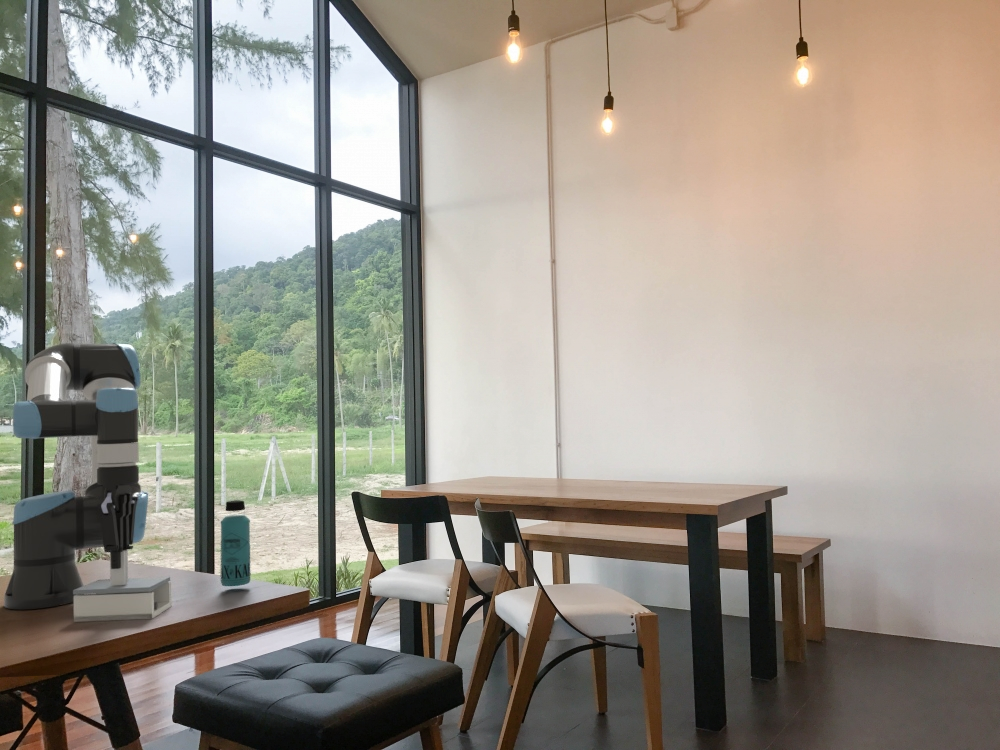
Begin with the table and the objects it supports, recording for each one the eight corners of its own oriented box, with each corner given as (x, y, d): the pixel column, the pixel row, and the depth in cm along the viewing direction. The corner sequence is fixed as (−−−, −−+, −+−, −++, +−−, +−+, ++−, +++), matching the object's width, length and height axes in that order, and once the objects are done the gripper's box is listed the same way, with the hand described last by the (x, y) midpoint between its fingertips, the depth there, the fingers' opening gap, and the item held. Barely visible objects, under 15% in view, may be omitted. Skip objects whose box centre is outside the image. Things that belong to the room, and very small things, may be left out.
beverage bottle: (220, 588, 180) (218, 500, 181) (250, 585, 182) (249, 498, 183) (221, 594, 174) (219, 503, 175) (252, 591, 176) (251, 500, 177)
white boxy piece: (98, 609, 164) (97, 584, 164) (171, 606, 165) (171, 581, 165) (73, 621, 154) (73, 596, 154) (152, 618, 155) (151, 592, 155)
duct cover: (98, 583, 164) (98, 579, 165) (170, 580, 165) (170, 576, 165) (73, 594, 154) (73, 590, 154) (149, 591, 154) (149, 587, 154)
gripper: (113, 463, 165) (115, 578, 164) (82, 467, 152) (83, 592, 151) (150, 462, 165) (151, 576, 164) (122, 466, 152) (123, 590, 151)
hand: (119, 584), depth 158 cm, fingers closed
